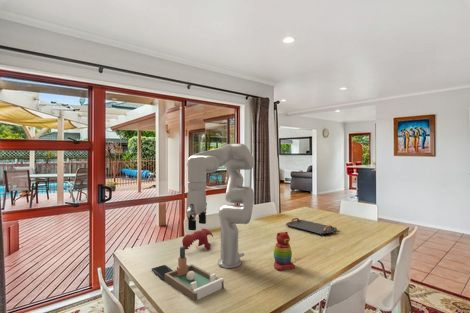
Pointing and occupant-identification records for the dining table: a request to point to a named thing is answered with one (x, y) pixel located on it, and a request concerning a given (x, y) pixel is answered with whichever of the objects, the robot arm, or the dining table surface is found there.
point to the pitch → (195, 282)
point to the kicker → (182, 263)
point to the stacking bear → (283, 252)
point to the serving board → (311, 226)
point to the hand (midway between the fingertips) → (197, 226)
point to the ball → (190, 275)
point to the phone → (161, 271)
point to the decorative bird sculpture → (200, 236)
